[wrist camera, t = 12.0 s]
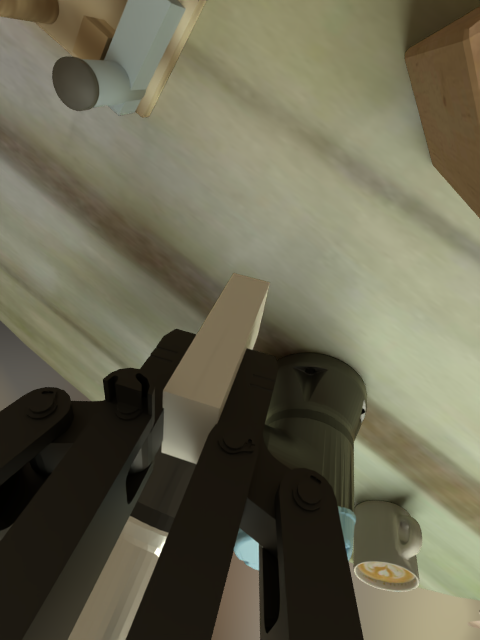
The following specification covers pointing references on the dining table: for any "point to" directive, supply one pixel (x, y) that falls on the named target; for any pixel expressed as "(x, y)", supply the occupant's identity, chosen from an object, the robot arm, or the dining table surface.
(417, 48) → the wooden block
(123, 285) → the dining table surface
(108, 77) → the hinged leg
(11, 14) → the wooden twin post stand
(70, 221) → the dining table surface
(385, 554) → the coffee mug
